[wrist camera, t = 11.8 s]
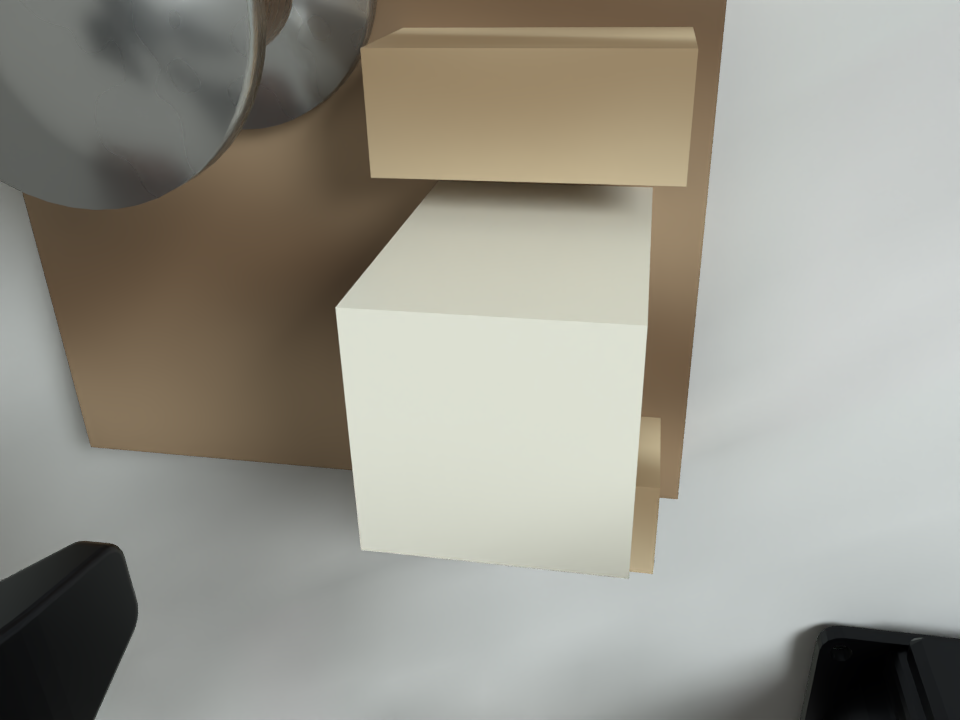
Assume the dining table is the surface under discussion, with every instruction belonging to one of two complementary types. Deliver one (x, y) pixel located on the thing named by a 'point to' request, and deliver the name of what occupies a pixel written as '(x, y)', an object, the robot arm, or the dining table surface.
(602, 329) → the white block
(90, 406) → the board
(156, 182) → the bobbin
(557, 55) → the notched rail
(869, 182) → the dining table surface
